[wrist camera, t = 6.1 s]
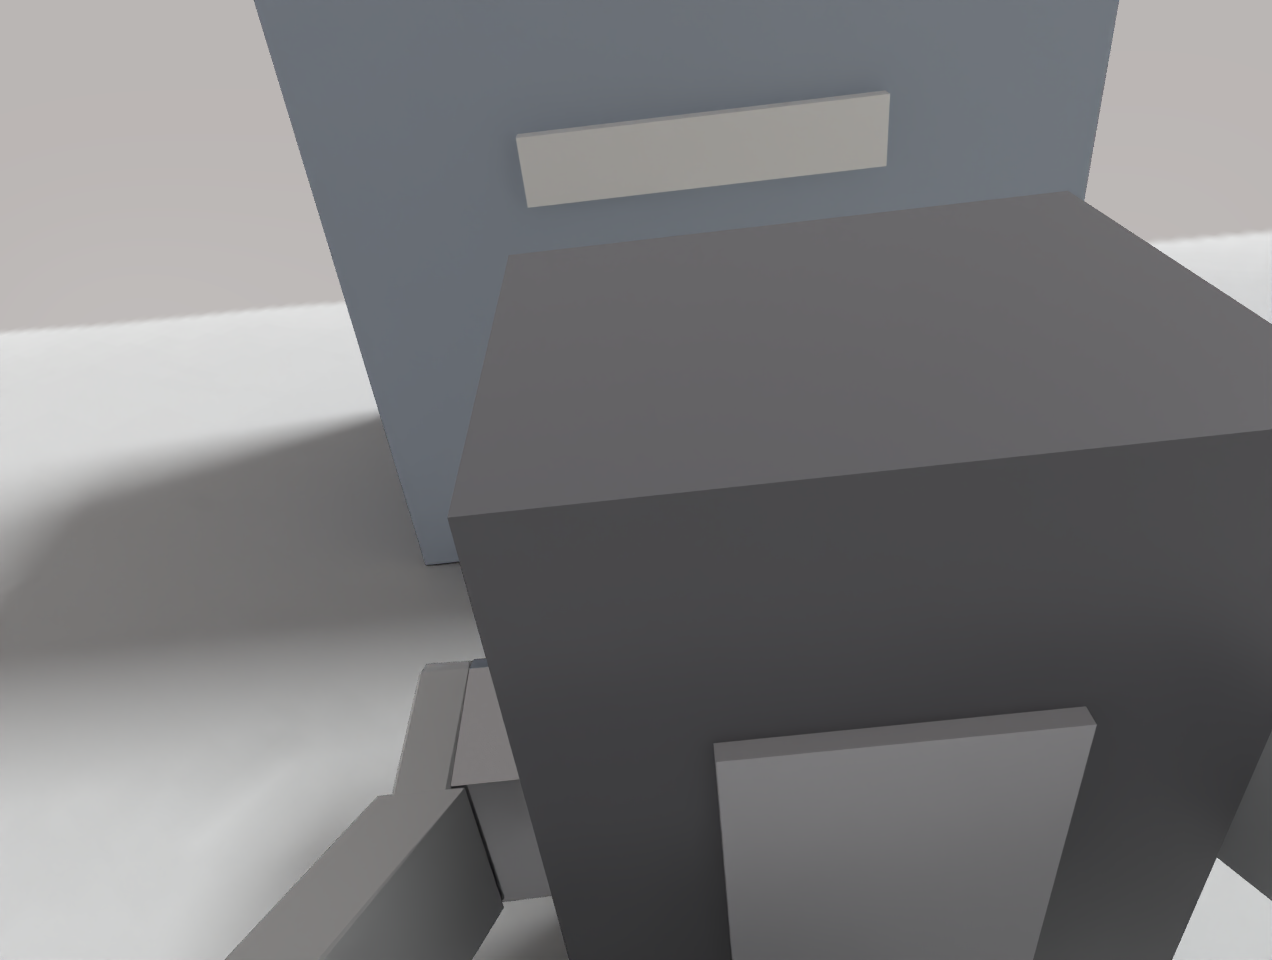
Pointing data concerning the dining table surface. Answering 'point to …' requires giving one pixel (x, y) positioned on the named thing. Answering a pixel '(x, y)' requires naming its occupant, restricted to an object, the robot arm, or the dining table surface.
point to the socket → (640, 148)
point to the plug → (875, 583)
